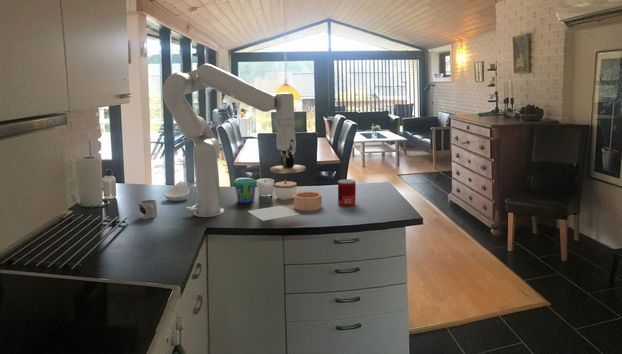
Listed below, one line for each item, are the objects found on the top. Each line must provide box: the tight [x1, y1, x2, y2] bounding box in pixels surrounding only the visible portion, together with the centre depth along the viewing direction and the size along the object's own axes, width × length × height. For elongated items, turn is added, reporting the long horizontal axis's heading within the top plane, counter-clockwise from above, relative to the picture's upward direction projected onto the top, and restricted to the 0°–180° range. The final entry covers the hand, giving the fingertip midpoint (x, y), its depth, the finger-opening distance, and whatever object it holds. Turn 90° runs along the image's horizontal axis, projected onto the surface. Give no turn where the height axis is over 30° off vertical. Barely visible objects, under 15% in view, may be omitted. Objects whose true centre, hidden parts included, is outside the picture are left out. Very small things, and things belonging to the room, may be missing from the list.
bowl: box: [293, 191, 323, 212], centre depth 192 cm, size 12×12×6 cm
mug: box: [138, 199, 158, 220], centre depth 180 cm, size 10×7×7 cm
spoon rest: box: [163, 180, 192, 202], centre depth 216 cm, size 24×12×7 cm, turn 2°
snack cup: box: [233, 178, 258, 204], centre depth 204 cm, size 16×10×10 cm
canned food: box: [337, 178, 357, 207], centre depth 197 cm, size 8×8×11 cm
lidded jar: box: [273, 179, 298, 201], centre depth 208 cm, size 11×11×9 cm
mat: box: [247, 205, 301, 222], centre depth 184 cm, size 17×17×1 cm
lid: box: [269, 153, 307, 174], centre depth 183 cm, size 15×15×7 cm
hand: (287, 165), depth 184 cm, fingers closed on lid, 4 cm apart
